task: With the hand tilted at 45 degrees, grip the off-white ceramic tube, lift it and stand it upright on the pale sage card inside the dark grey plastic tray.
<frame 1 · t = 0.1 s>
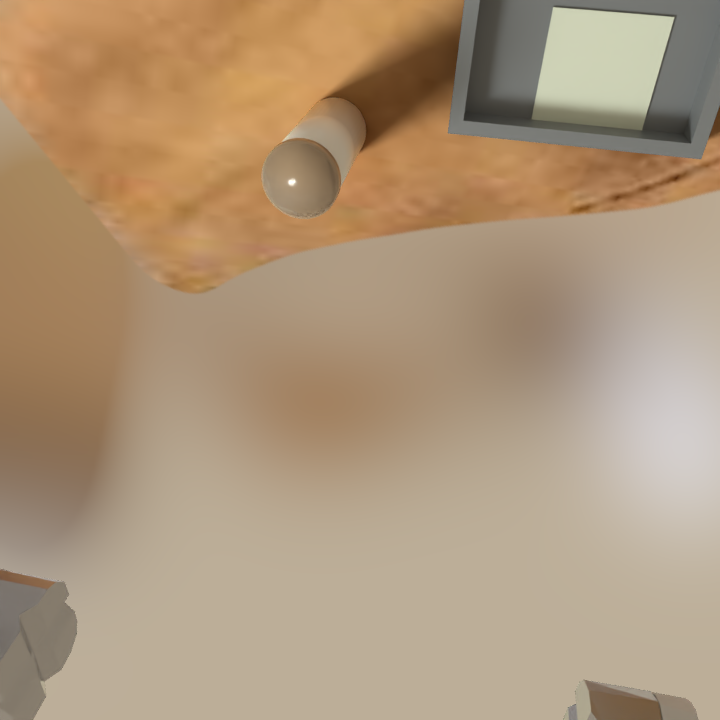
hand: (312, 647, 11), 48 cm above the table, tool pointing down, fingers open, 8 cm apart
tube: (335, 129, 54), on the table
tray: (589, 40, 48), on the table
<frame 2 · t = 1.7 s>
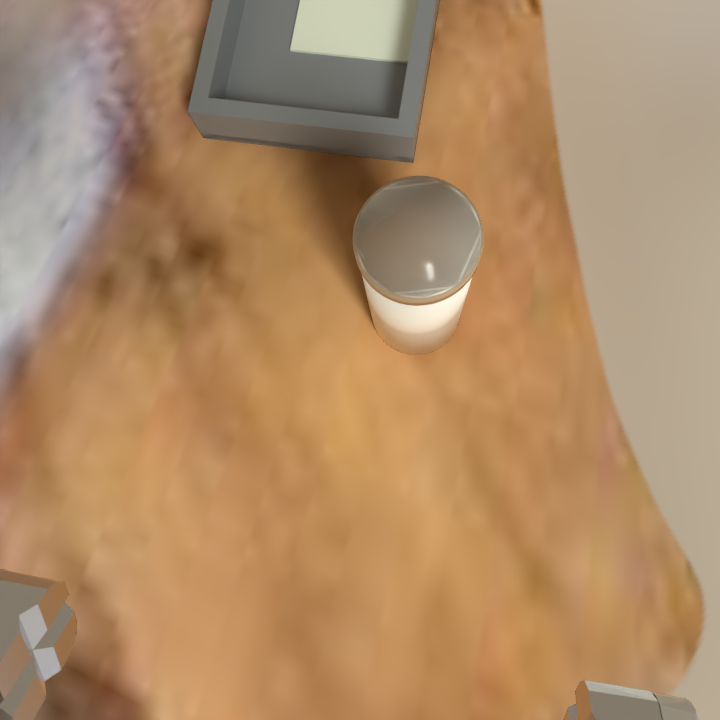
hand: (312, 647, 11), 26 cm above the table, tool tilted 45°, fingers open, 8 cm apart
tube: (415, 311, 39), on the table
tray: (332, 17, 42), on the table
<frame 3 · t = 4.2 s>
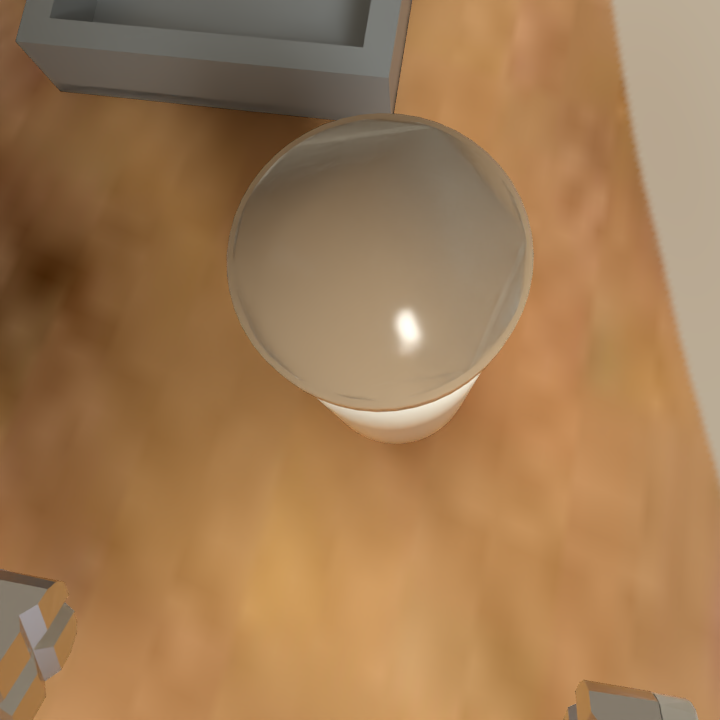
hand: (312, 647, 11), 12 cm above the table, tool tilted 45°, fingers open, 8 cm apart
tube: (395, 370, 23), on the table
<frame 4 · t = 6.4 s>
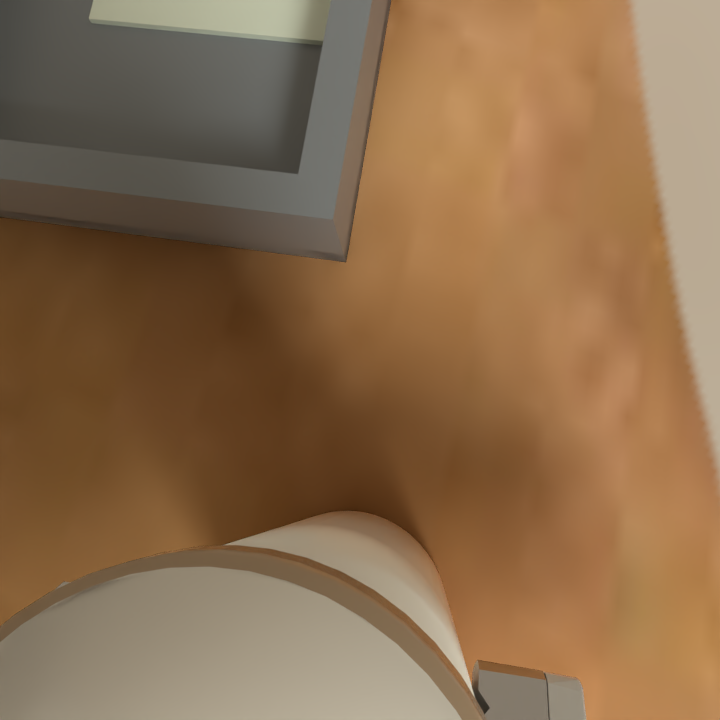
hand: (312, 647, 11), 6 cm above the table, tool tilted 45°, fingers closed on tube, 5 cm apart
tube: (346, 613, 17), on the table, touching gripper
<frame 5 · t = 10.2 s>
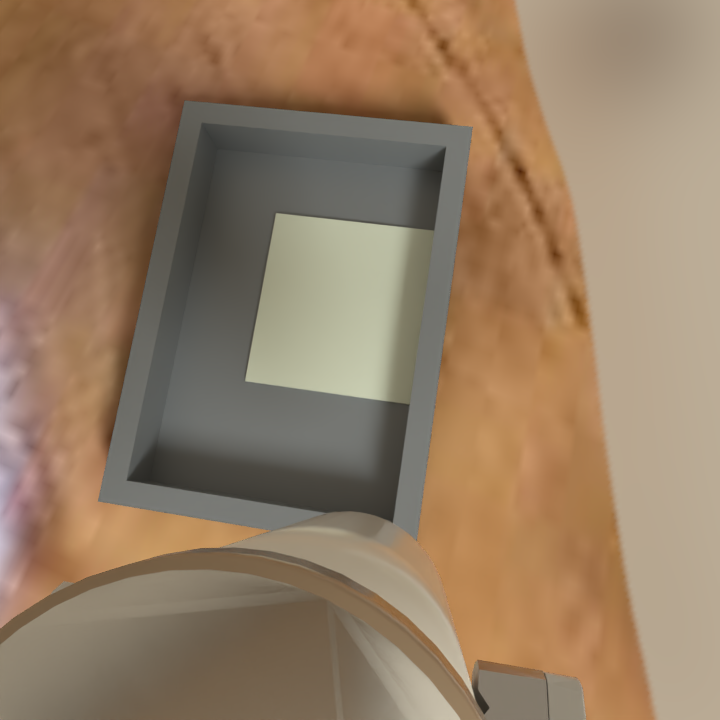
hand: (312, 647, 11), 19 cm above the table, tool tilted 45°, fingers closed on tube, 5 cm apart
tube: (346, 614, 17), point 13 cm above the table, touching gripper
tray: (302, 325, 31), on the table
when the fingers open (8 cm above the table, at t = 13.8 s): tube drops 1 cm, resting on tray.
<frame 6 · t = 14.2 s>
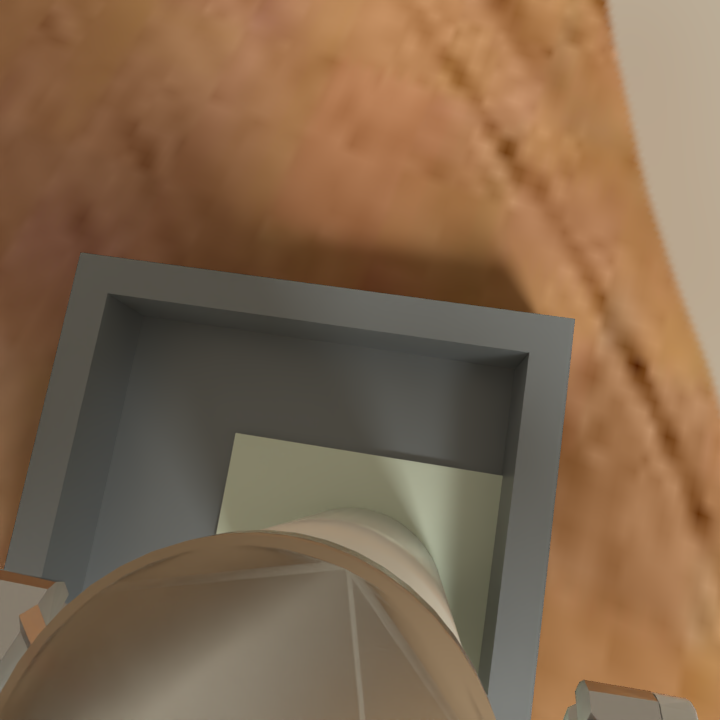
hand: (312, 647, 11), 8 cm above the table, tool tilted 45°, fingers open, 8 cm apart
tube: (350, 603, 18), point 1 cm above the table, touching tray
tray: (278, 623, 19), on the table
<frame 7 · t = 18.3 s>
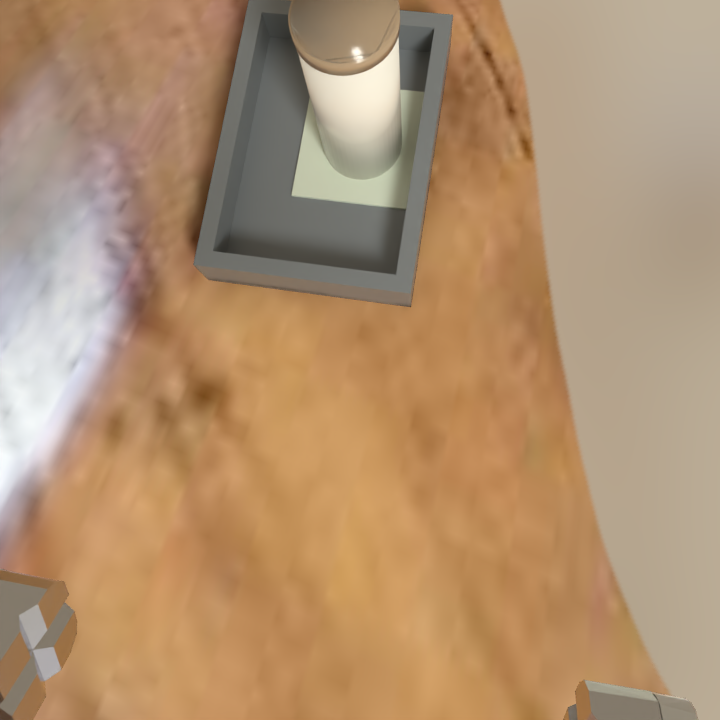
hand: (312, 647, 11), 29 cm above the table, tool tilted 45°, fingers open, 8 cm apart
tube: (362, 143, 43), point 1 cm above the table, touching tray
tray: (331, 160, 44), on the table
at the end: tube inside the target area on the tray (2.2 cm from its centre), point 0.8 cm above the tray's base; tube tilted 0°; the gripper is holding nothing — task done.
